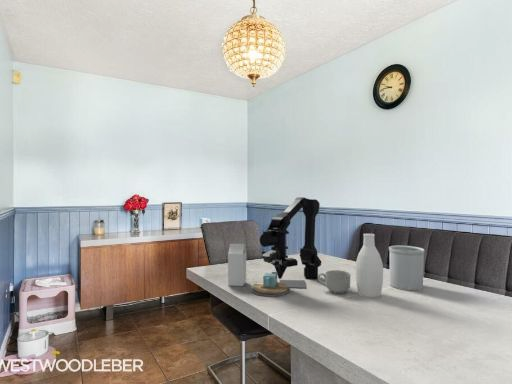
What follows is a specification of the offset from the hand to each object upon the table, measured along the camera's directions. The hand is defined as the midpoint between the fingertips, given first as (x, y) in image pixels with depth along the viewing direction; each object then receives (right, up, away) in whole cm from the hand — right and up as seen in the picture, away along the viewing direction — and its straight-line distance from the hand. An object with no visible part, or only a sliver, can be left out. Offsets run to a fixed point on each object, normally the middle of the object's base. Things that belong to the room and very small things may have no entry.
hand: (279, 278), depth 147 cm
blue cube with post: (-5, -2, -6) cm, 8 cm away
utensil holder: (+58, -4, 0) cm, 58 cm away
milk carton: (-20, -5, +6) cm, 21 cm away
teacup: (+23, -4, -6) cm, 24 cm away
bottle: (+37, -4, -11) cm, 39 cm away
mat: (+6, -4, +5) cm, 9 cm away
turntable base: (-5, -4, -4) cm, 7 cm away
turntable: (-5, -4, -4) cm, 7 cm away
